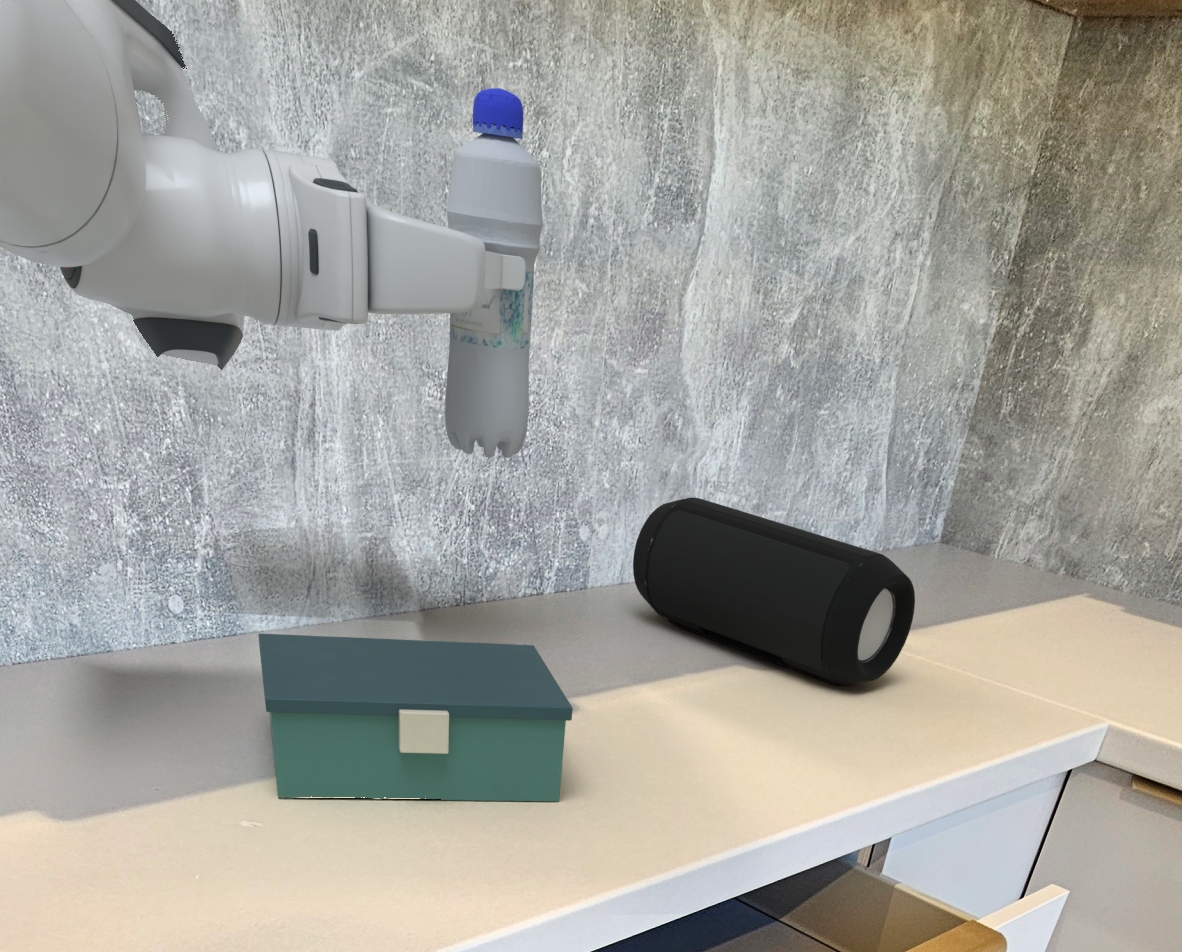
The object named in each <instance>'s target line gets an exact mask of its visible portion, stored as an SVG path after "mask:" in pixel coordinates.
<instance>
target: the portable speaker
mask: <svg viewBox="0 0 1182 952" xmlns="http://www.w3.org/2000/svg"><path fill="white" fill-rule="evenodd" d="M632 558H633V560H632V574H633V579H634V585H635V586H636V590H637V591H638V592H639V595H640V596H641V597H642V598H643V599H644V601H645V602H646V603H647V604H648V605H649V606H650V607H651V608H652V610H653V611H654V612H655V613H657V615H658V616H660V617H661V618H664V619H666V620H667V622H669V623H670V624H673V625H674V626H677V627H680V628H683V629H686V630H687V631H691V632H693V633H696V634H698V635H701V636H703V637H706V638H709V639H712V640H714V641H717V642H719V643H723V645H724V644H725V645H728V646H730V647H733V648H735V649H738V650H740V651H743V652H746V653H748V654H751V655H753V656H756V657H759V658H761V659H764V660H766V661H770V662H771V663H775V664H777V665H780V666H783V667H785V668H787V669H790V670H794V671H796V672H798V673H801V674H804V675H806V676H810V677H812V678H814V679H816V680H819V681H822V682H826V683H829V684H832V685H835V686H843V685H849V684H859V683H869V682H870V683H871V682H874V681H876V680H878V679H880V678H881V677H883V676H884V675H886V673H887V672H888V671H889V670H890V668H891V667H892V666H893V664H894V663H895V662H896V661H897V659H898V658H899V655H900V654H901V652H902V650H903V648H904V646H905V645H906V642H907V639H908V637H909V634H910V631H911V628H912V625H913V624H912V623H913V620H914V615H915V606H916V592H915V588H914V585H913V582H912V580H911V578H910V577H909V576H908V575H907V574H906V573H905V572H904V571H903V570H902V569H901V568H900V567H899V566H898V565H897V564H896V563H895V562H893V560H891V559H890V558H889V557H887V556H886V555H884V554H882V553H879V552H877V551H874V550H871V549H867V548H864V547H860V546H857V545H853V544H851V543H847V542H844V541H841V540H837V539H834V538H830V537H827V536H825V535H821V534H817V533H814V532H811V531H808V530H804V529H801V528H798V527H795V526H792V525H788V524H785V523H782V522H779V521H776V520H771V519H768V518H766V517H762V516H759V515H756V514H752V513H749V512H745V511H743V510H740V509H736V508H733V507H730V506H726V505H724V504H720V503H716V502H713V501H710V500H706V499H703V498H699V497H686V498H680V499H678V500H677V499H676V500H674V501H673V500H672V501H669V502H665V503H662V504H661V505H659V506H658V507H656V508H655V509H654V510H653V511H652V512H651V513H650V514H649V515H648V517H647V518H646V520H645V522H644V523H643V525H642V526H641V529H640V531H639V534H638V536H637V539H636V542H635V548H634V551H633V557H632Z"/></svg>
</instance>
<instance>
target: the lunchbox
mask: <svg viewBox="0 0 1182 952" xmlns="http://www.w3.org/2000/svg"><path fill="white" fill-rule="evenodd" d="M258 646H259V654H260V655H259V656H260V657H259V658H260V668H261V675H262V683H263V684H262V685H263V694H264V704H265V705H264V706H265V712H266V713H269V727H270V736H271V746H272V755H273V764H274V772H275V773H274V774H275V782H276V794H277V798H278V797H311V796H312V797H355V798H361V797H362V798H363V797H365V798H384V797H386V798H420V799H425V798H426V799H441V800H440V801H470V802H471V801H475V802H476V801H477V802H479V801H481V802H483V801H484V802H487V801H488V802H560V794H561V785H562V784H561V783H562V770H563V761H564V759H563V758H564V747H565V745H564V744H565V738H566V737H565V735H566V724H567V721H569V722H570V721H572V719H573V709H574V708H573V707H572V705H571V703H570V701H569V700H568V698H567V697H566V694H565V693H564V692H563V690H562V689H561V687H560V685H559V684H558V682H557V680H556V679H555V677H554V676H553V674H552V672H551V671H550V669H549V667H548V666H547V664H546V663H545V661H544V660H543V658H542V656H541V655H540V653H539V652H538V650H537V648H536V647H535V645H533V644H517V643H515V644H514V643H491V642H471V641H469V642H468V641H467V642H466V641H446V640H445V641H443V640H423V639H421V640H419V639H401V638H400V639H399V638H398V639H397V638H395V639H394V638H373V637H371V638H370V637H353V636H352V637H350V636H330V635H329V636H328V635H327V636H326V635H306V634H303V635H302V634H281V633H279V634H278V633H258Z"/></svg>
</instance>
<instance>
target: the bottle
mask: <svg viewBox="0 0 1182 952" xmlns="http://www.w3.org/2000/svg"><path fill="white" fill-rule="evenodd" d="M472 105H473V106H472V132H474V133H479V134H480V135H478V136H476V137H475V138H473V139H472V140H470V141H468V142H467V143H465V144H463V145H461V146H460V147H459V148H457V149H456V150H455V151H454V152H453V158H452V165H451V174H450V175H451V176H450V183H449V191H448V197H447V205H446V211H445V212H446V215H447V226H448V227H447V228H450V229H453V230H456V231H460V232H463V233H466V234H469V235H472V236H474V237H476V238H478V239H480V240H482V241H483V243H484V245H485V251H489V252H493V253H500V254H508V255H515V256H519V257H521V258H523V259H524V261H525V264H526V270H525V285H524V287H523V289H521V290H519V291H516V290H506V289H496V290H486V291H484V300H483V305H482V307H481V308H479V309H477V310H474V311H469V312H462V313H449V346H448V361H447V362H448V363H447V375H446V384H445V385H446V387H445V404H444V405H445V406H444V409H445V410H444V418H445V419H444V420H445V430H446V434H447V439H448V441H449V442H450V445H451V446H452V447H453V448H454V449H456V450H457V451H460V450H462V452H463V453H464V454H467V455H471V454H473V453H474V449H475V443H476V442H477V446H478V447H479V448H483V455H484V457H485V458H491V459H492V458H493V457H494V456H495V454H496V450H498V451H501V455H502V457H503V458H505V459H509V458H512V457H513V456H515V455H518V454H519V452H520V451H521V450H522V449H523V446H524V443H525V441H526V437H527V432H528V424H529V408H530V404H529V403H530V395H529V394H530V384H529V383H530V348H531V332H532V331H531V330H532V317H533V316H532V315H533V301H534V300H533V297H534V282H535V265H536V260H537V257H538V255H539V253H540V250H541V248H542V247H541V245H540V241H541V234H542V230H543V226H544V221H543V220H544V219H543V207H542V205H543V204H542V178H541V177H542V175H541V173H542V172H541V171H542V170H541V165H540V163H539V162H538V160H536V158H534V157H533V155H531V154H530V153H529V152H528V151H527V150H526V148H524V146H522V145H521V143H519V142H518V141H517V140H516V139H518V140H523V134H524V106H523V103H522V101H521V98H519V96H517V95H516V94H514V93H512V92H510V91H508V90H506V89H503V88H500V87H494V88H493V87H492V88H486V89H482V90H480V91H478V92H477V93H476V96H475V97H474V102H473V104H472Z"/></svg>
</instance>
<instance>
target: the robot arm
mask: <svg viewBox="0 0 1182 952" xmlns="http://www.w3.org/2000/svg"><path fill="white" fill-rule="evenodd" d="M152 15H153V14H152V13H151V12H149V11H148V10H147V9H146V8H145V7H143V5H141V4H140V3H139V2H138V1H137V0H0V247H1V248H2V249H4V250H5V251H7V252H9V253H11V254H13V255H16V256H18V257H20V258H21V259H25V260H28V261H32V262H34V263H38V264H41V265H45V266H50V267H57V268H58V267H59V270H60V272H61V274H62V277H63V276H64V277H63V279H64V281H65V282H66V283H67V284H66V285H68V287H69V288H70V289H71V291H73V292H74V293H75V294H77V295H78V296H80V297H82V298H85V299H88V300H92V301H96V302H100V303H103V304H104V303H107V304H110V305H112V306H114V307H116V308H118V309H120V310H122V311H124V312H127V313H129V314H131V315H132V316H133V319H134V320H133V321H134V323H135V325H136V326H137V328H138V330H139V332H140V333H141V334H142V336H143V338H144V339H145V340H146V342H147V343H148V344H149V346H150V347H151V349H152V350H153V351H154V353H155V354H156V356H157V357H159V356H160V355H161V354H162V355H166V356H171V357H176V358H181V359H185V360H190V361H196V362H201V363H208V364H212V365H217V366H218V367H219V368H220V369H221V370H222V371H223V370H224V368H225V367H226V366H227V364H228V363H229V362H230V361H231V359H232V358H233V356H234V355H235V354H236V351H237V350H238V348H239V346H240V345H241V343H242V341H243V339H244V334H243V333H244V327H243V326H244V325H245V317H248V318H251V319H254V320H256V321H259V322H262V323H265V324H268V325H270V326H282V327H291V328H292V327H293V328H303V329H310V330H311V329H313V330H324V331H334V332H339V331H341V330H342V329H343V327H344V326H347V325H348V324H350V325H365V324H367V323H368V321H369V314H376V315H441V314H450V313H462V312H469V311H474V310H477V309H479V308H481V307H482V305H483V300H484V291H486V290H496V289H506V290H516V291H519V290H521V289H523V287H524V285H525V270H526V264H525V261H524V259H523V258H521V257H519V256H515V255H508V254H500V253H493V252H489V251H485V245H484V243H483V241H482V240H480V239H478V238H476V237H474V236H472V235H469V234H466V233H463V232H460V231H456V230H453V229H450V228H448V227H447V226H443V225H439V224H437V223H433V222H429V221H425V220H421V219H418V218H415V217H411V216H408V215H404V214H401V213H397V212H394V211H391V210H389V209H386V208H383V207H380V206H379V205H377V204H376V203H374V202H373V201H371V200H370V199H368V198H367V197H366V195H365V194H364V193H363V192H361V190H360V189H359V188H357V187H353V186H352V185H351V184H350V183H349V182H348V181H347V179H346V178H345V176H343V174H341V171H340V169H339V166H338V165H337V163H336V162H335V161H334V159H332V158H329V157H327V158H326V157H321V156H320V157H319V156H313V155H305V154H299V153H292V152H285V151H277V150H270V149H262V148H248V149H245V150H241V151H236V152H235V151H234V152H227V153H226V152H220V151H217V149H216V148H217V146H216V145H215V144H216V143H215V141H214V140H215V139H214V137H212V135H213V134H211V131H212V130H210V128H209V127H208V125H209V124H206V123H207V122H206V121H205V120H204V118H205V117H204V118H203V114H201V112H202V111H201V112H200V109H199V108H198V106H199V105H197V106H196V104H197V103H196V102H195V99H194V97H195V96H194V95H193V92H192V91H191V90H192V89H189V88H191V87H190V86H189V85H188V84H189V83H188V82H187V81H188V79H186V76H184V75H185V74H184V73H183V70H182V69H181V68H183V67H184V68H185V66H186V65H185V64H184V61H183V60H182V59H183V57H182V56H181V55H182V54H181V53H180V51H178V50H179V48H180V47H178V44H176V43H177V42H176V41H177V40H176V41H175V37H173V36H174V34H172V31H170V30H169V29H168V28H167V27H166V26H165V25H164V24H162V23H161V22H160V21H159V20H157V19H156V18H155V17H154V16H155V15H154V16H152ZM181 57H182V58H181ZM184 68H183V69H184ZM186 69H187V68H186ZM134 90H139V91H141V90H142V91H145V92H147V93H148V92H149V93H150V94H151V95H155V97H158V98H157V99H158V100H161V101H160V102H161V104H162V103H164V104H163V105H164V109H165V110H164V112H165V113H164V114H165V115H164V116H165V118H166V119H165V120H166V121H165V123H166V124H165V125H166V129H167V130H166V129H165V128H164V127H163V128H164V132H165V133H162V134H163V135H153V134H142V132H141V126H140V120H139V114H138V109H137V104H136V98H135V93H134ZM166 111H167V112H166ZM166 113H167V115H168V116H166ZM167 117H168V118H169V119H168V118H167ZM167 119H168V120H167ZM168 121H169V122H168ZM209 130H210V131H209ZM242 338H243V339H242ZM241 340H242V341H241Z"/></svg>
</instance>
